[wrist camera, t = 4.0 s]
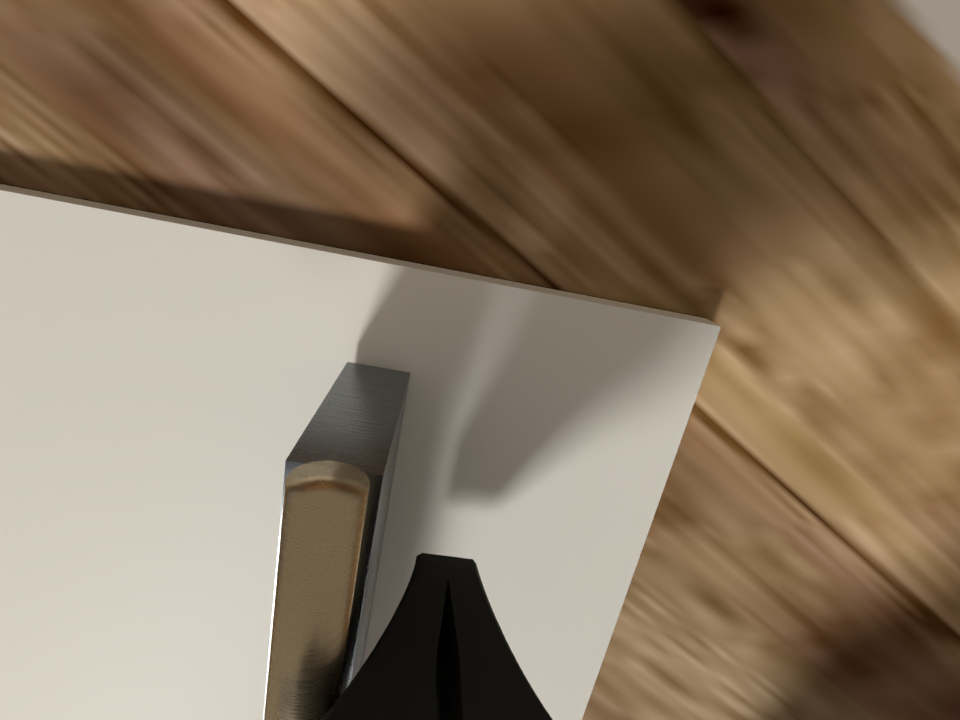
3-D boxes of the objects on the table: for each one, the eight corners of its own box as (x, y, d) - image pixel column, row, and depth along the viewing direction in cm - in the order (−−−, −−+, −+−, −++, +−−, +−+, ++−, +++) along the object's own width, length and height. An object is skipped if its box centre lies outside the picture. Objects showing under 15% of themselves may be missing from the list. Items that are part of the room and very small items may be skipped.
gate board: (706, 318, 14) (721, 326, 13) (510, 888, 21) (512, 914, 20) (-39, 176, 12) (-73, 176, 11) (36, 850, 19) (19, 877, 19)
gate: (410, 372, 13) (373, 513, 7) (344, 773, 17) (291, 1043, 12) (347, 362, 12) (262, 497, 7) (297, 768, 17) (222, 1040, 11)
